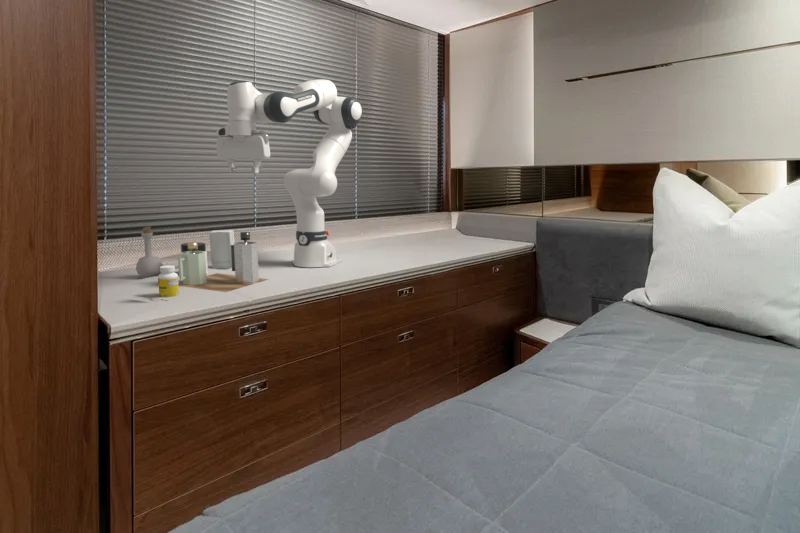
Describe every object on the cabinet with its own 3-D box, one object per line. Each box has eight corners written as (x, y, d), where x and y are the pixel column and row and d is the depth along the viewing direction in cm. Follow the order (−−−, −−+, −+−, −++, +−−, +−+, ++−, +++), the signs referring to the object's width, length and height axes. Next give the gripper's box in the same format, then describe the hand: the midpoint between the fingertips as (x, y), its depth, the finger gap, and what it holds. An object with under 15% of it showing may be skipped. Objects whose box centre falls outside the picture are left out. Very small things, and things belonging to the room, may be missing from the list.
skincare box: (237, 266, 199) (235, 229, 196) (232, 269, 193) (230, 231, 190) (216, 266, 198) (214, 229, 196) (210, 269, 192) (208, 231, 190)
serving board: (217, 276, 179) (217, 273, 179) (269, 282, 171) (269, 279, 170) (170, 288, 160) (170, 284, 160) (226, 295, 151) (226, 291, 151)
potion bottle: (169, 275, 180) (165, 226, 177) (151, 280, 172) (147, 228, 168) (149, 273, 182) (145, 225, 179) (130, 278, 174) (126, 227, 171)
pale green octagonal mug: (195, 279, 168) (193, 250, 167) (211, 281, 166) (209, 251, 164) (172, 284, 160) (170, 254, 158) (189, 287, 157) (187, 256, 155)
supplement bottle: (156, 298, 147) (153, 266, 145) (173, 295, 151) (171, 264, 149) (165, 302, 143) (162, 268, 142) (183, 298, 148) (180, 266, 146)
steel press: (240, 277, 172) (238, 240, 170) (262, 280, 168) (261, 242, 166) (225, 281, 166) (223, 243, 163) (248, 284, 162) (246, 245, 160)
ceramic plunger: (194, 270, 166) (192, 241, 164) (205, 272, 164) (203, 242, 163) (183, 273, 162) (181, 242, 160) (194, 274, 160) (192, 243, 158)
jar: (211, 274, 183) (209, 242, 180) (204, 279, 175) (202, 245, 172) (186, 274, 182) (183, 242, 179) (178, 279, 174) (176, 245, 171)
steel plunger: (245, 263, 169) (244, 231, 167) (256, 264, 167) (255, 232, 165) (235, 265, 164) (234, 232, 162) (247, 267, 162) (246, 233, 160)
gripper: (273, 131, 166) (274, 173, 168) (225, 132, 174) (227, 172, 176) (261, 129, 160) (263, 173, 163) (212, 130, 168) (214, 172, 170)
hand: (244, 172), depth 169 cm, fingers open, 8 cm apart
